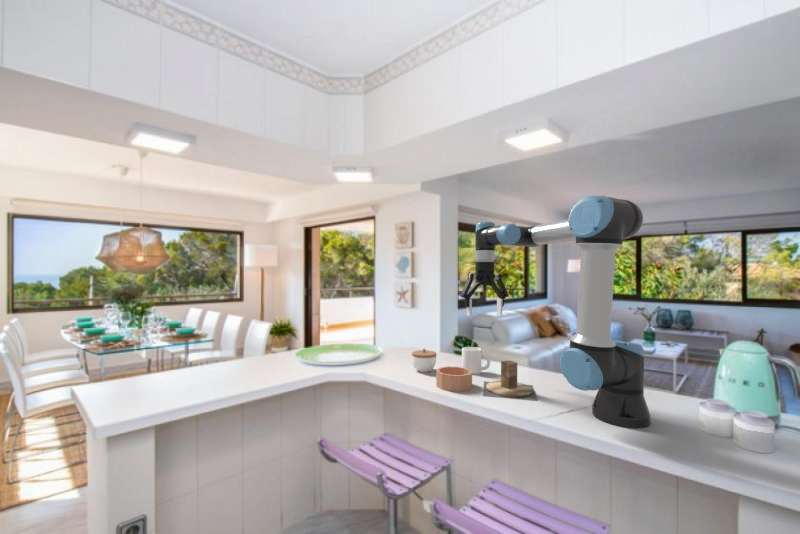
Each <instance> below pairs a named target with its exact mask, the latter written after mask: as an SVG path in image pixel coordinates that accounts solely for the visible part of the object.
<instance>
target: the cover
mask: <svg viewBox="0 0 800 534" xmlns="http://www.w3.org/2000/svg"><path fill="white" fill-rule="evenodd" d="M488 382H489V383H487V385H486V389H487V391H488V392H490V393H492V394H495V395H498V396H503V397H511V398H522V397H528V396H530V395H532V388H531V387H530V386H528V385H529V384H526V383H522V382H519V381H518V362H516V361H513V360H502V361H500V380H493V381H488Z"/></svg>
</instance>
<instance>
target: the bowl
mask: <svg viewBox="0 0 800 534" xmlns="http://www.w3.org/2000/svg"><path fill="white" fill-rule="evenodd" d="M435 374H436V376H435V382H436V383H435V386H436V387H437V388H439V389H440V390H442V391H443V390H444V391H448V392H464V391H465V392H466V391H469V390H471V389H472V388H473V374H472V371H471V370H469V369H466V368H462V366H448V365H447V366H441V367H438V368H437V369H436V373H435Z"/></svg>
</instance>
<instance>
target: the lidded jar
mask: <svg viewBox="0 0 800 534" xmlns="http://www.w3.org/2000/svg"><path fill="white" fill-rule="evenodd" d="M411 360H412V365H413V367H414V368H415V370H416V371H417V372H419V371H420V373H429V371H430V372H431V371H432V370H433V369H434V368H435V366H436V363H437V352H435V351H433V350H429V349H427V350H426V348H423V349H418V350H414V351H412V352H411Z"/></svg>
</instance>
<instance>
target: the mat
mask: <svg viewBox="0 0 800 534" xmlns="http://www.w3.org/2000/svg"><path fill="white" fill-rule="evenodd" d="M489 382H490V381H486V380H484V381H483V390H482V391H483V392H482V396H483V397H491V398H499V399H500V398H501V399H510V400H521V401H523V400H524V401H534V402H535V401H536V402H538V401H539V399H538V396H537V393H536V391H535V388H534V386H533V385H532V384H527V385H528V386H530V387H531V388H532V395H530V396H528V397H522V398H511V397H503V396H498V395H495V394H492V393H490V392H488V391H487V389H486V385H487V383H489Z"/></svg>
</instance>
